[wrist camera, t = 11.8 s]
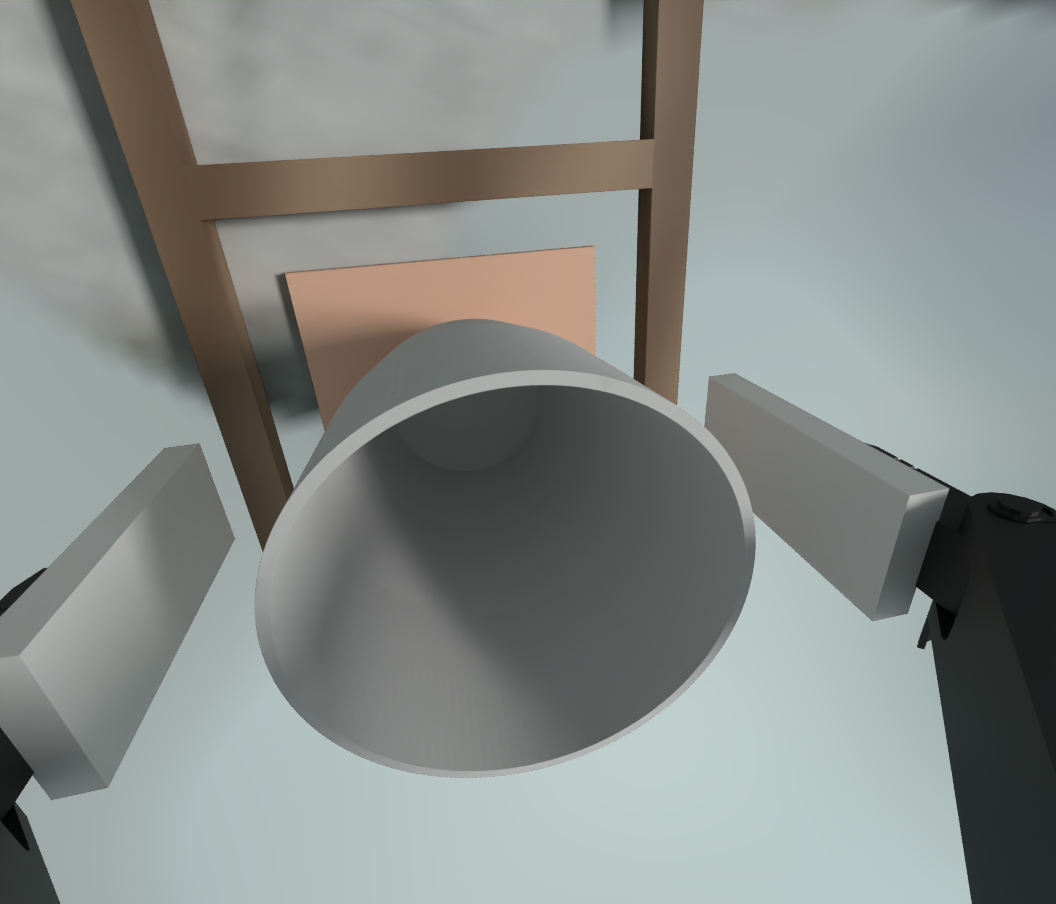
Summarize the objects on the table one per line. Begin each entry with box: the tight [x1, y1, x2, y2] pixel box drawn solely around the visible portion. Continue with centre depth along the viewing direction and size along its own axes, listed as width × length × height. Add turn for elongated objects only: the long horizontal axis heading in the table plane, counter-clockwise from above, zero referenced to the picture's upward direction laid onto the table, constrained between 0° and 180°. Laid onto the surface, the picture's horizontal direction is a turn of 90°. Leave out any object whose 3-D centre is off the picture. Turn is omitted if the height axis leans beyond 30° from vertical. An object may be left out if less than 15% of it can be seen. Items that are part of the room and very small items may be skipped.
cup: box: [255, 319, 755, 778], centre depth 13 cm, size 8×8×10 cm
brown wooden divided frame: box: [70, 0, 704, 552], centre depth 14 cm, size 14×28×1 cm, turn 4°
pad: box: [285, 246, 595, 431], centre depth 18 cm, size 9×9×1 cm
